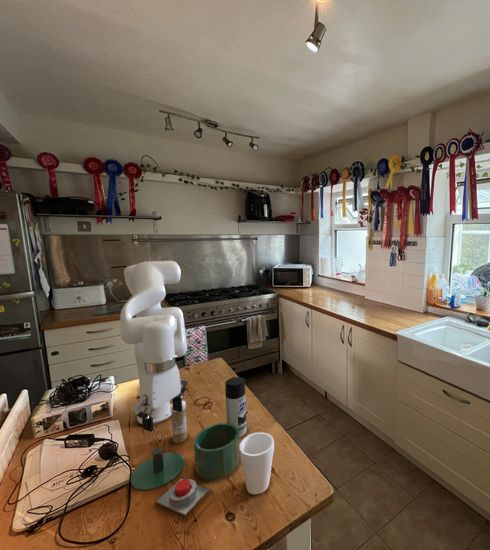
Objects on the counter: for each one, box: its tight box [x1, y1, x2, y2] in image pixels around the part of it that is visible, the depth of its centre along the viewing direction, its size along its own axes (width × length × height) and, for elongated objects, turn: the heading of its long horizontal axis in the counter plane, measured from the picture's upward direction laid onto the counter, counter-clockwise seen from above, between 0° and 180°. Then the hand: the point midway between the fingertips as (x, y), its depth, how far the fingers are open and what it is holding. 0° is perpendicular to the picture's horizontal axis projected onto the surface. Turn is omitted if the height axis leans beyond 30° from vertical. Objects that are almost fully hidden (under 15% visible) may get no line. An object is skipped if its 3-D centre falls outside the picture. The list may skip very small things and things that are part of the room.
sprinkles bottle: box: [170, 399, 188, 444], centre depth 100 cm, size 5×5×14 cm
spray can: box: [224, 376, 248, 438], centre depth 103 cm, size 7×7×20 cm
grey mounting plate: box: [155, 477, 210, 518], centre depth 78 cm, size 10×8×3 cm
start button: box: [174, 478, 190, 496], centre depth 78 cm, size 4×4×2 cm
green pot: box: [193, 422, 240, 480], centre depth 90 cm, size 13×13×10 cm
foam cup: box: [239, 431, 275, 495], centre depth 82 cm, size 10×9×13 cm
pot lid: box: [130, 447, 185, 492], centre depth 86 cm, size 14×14×7 cm
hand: (163, 419), depth 85 cm, fingers open, 9 cm apart
